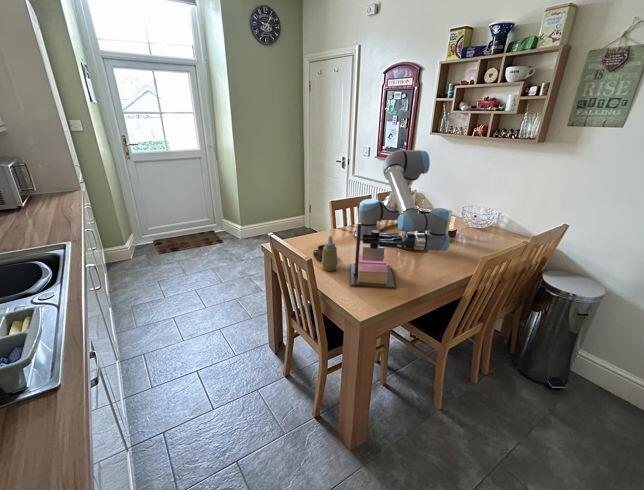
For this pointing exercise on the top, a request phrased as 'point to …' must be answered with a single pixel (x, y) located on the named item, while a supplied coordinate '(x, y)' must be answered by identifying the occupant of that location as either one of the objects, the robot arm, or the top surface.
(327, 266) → the squeeze bottle
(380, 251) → the cutter
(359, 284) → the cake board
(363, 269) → the cake
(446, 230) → the milk carton
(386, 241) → the robot arm
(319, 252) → the cup and saucer
